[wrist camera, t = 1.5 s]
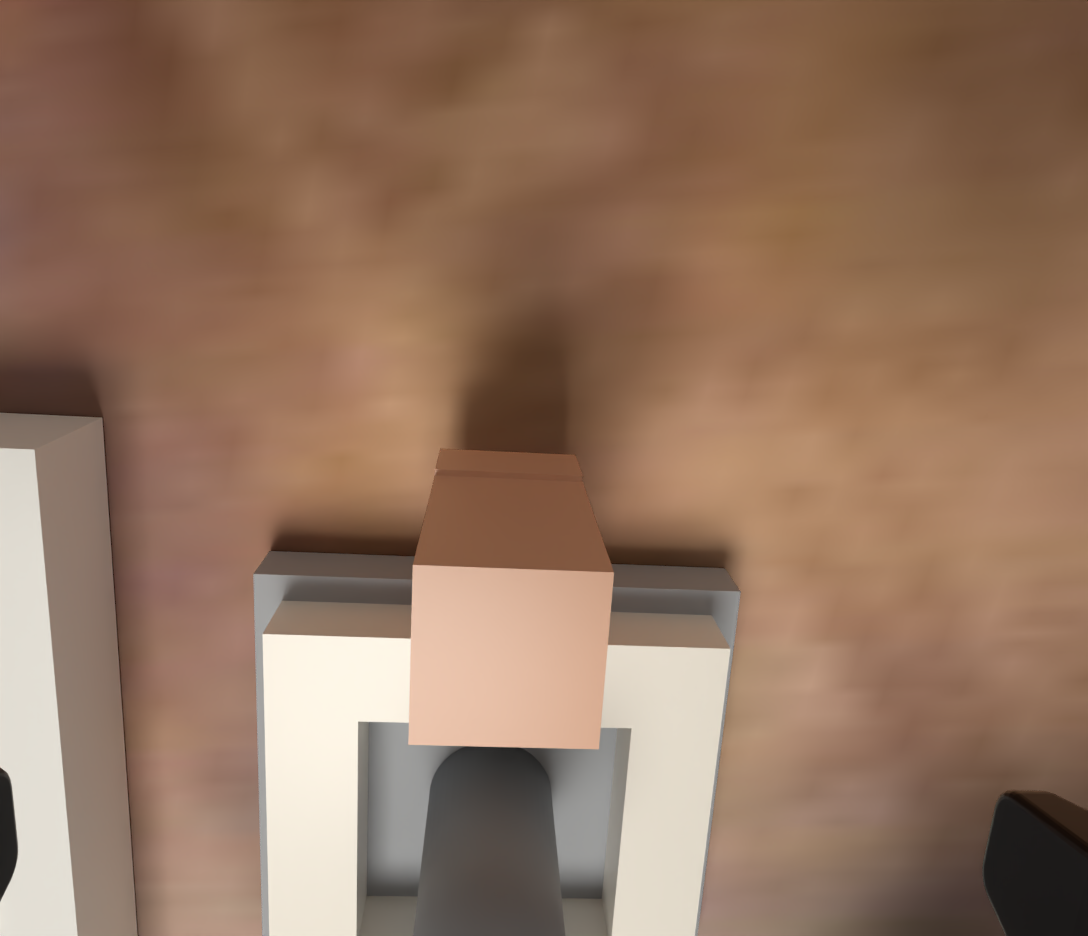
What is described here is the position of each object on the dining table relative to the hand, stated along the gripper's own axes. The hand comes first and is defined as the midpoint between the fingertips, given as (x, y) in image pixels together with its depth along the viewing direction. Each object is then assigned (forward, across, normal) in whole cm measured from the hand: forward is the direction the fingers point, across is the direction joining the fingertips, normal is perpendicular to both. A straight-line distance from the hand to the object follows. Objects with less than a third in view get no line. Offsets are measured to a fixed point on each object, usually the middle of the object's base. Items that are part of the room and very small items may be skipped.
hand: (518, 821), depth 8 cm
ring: (+8, 0, +4) cm, 9 cm away
